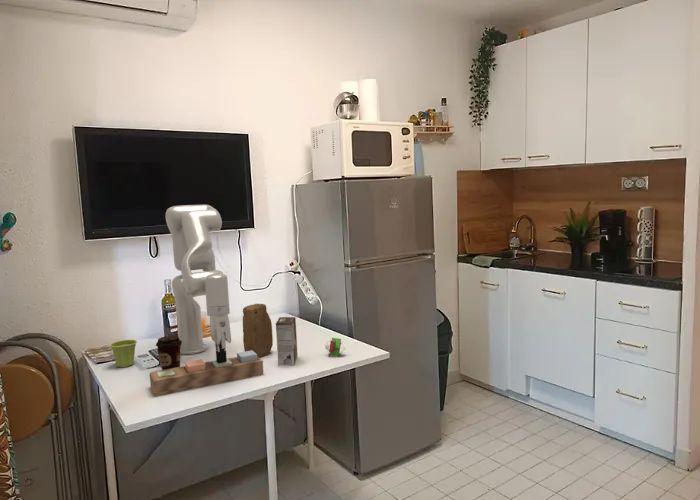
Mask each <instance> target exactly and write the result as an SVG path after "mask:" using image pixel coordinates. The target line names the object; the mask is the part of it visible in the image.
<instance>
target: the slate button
mask: <svg viewBox="0 0 700 500" xmlns="http://www.w3.org/2000/svg"><path fill="white" fill-rule="evenodd" d="M236 357H237V360H238V361H239V362H240V363H245V362H250V361H256V360H257V354H256V353H255V352H254V351H253V350H251V351H240V352H236Z"/></svg>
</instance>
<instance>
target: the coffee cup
mask: <svg viewBox="0 0 700 500" xmlns="http://www.w3.org/2000/svg"><path fill="white" fill-rule="evenodd" d="M181 344H182V341H181V340H180V339H179V337H178V335H170V336H169V335H168V336H162V337H159V338H158V339H157V342H156V343H155V346H156V347H157V355H158V359H159V365H160V368H161V370H166V369H171V368H177V367H181V355H182V354H181V352H180V348H181Z"/></svg>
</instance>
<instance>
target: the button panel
mask: <svg viewBox="0 0 700 500" xmlns="http://www.w3.org/2000/svg"><path fill="white" fill-rule="evenodd" d="M227 359H229V360H230V361H231V362H232V365H229V366H224V367H218V368H214V367H213V365H212V361H213V360H211V361H206V362H204V361H203V362H204V363H205V368H206V370H202V371H197V372H191V373H187V372H186V370H185V365H183V366H182V365H181V366H180V367H177V368H171V369H166V370H162V369H161V370H155V371H150V372H149V381H150V388H151V391H152V393H153V396H154V397H159V396H164V395H169V394H175V393H180V392H184V391H190V390H194V389H199V388H203V387H204V388H205V387H209V386H214V385H219V384H223V383H224V384H225V383H230V382H234V381H239V380H244V379H250V378H254V377H259V376H264V363H263V362H264V361H263V360H262V359H261V357H258V356H257V360H256V361H250V362H245V363H240V362H239V361H238V360H237V356H232V357H228V358H227ZM214 361H216V360H214Z"/></svg>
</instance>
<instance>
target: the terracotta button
mask: <svg viewBox="0 0 700 500" xmlns="http://www.w3.org/2000/svg"><path fill="white" fill-rule="evenodd" d="M184 366H185V370H186V372H187V373H191V372H197V371H202V370H206V368H205V363H204V360H203V359H195V360H190V361H185V362H184Z"/></svg>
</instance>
